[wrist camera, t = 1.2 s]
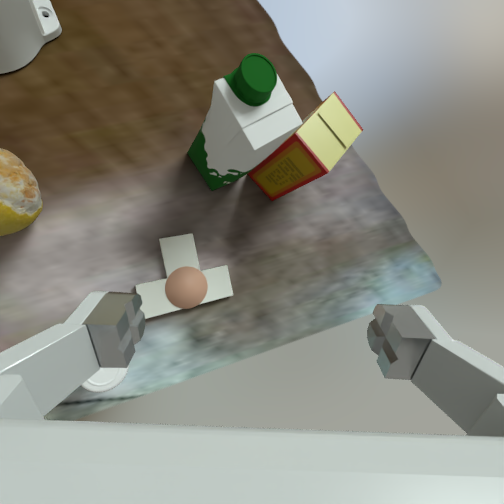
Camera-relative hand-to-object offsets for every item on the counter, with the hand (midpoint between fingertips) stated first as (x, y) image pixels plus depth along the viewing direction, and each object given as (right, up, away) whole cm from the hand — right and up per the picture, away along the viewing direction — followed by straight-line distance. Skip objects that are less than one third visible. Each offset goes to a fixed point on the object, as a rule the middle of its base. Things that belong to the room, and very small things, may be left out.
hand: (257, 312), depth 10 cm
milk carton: (-6, +17, +37) cm, 41 cm away
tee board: (-11, -1, +33) cm, 35 cm away
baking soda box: (+4, +17, +41) cm, 45 cm away
